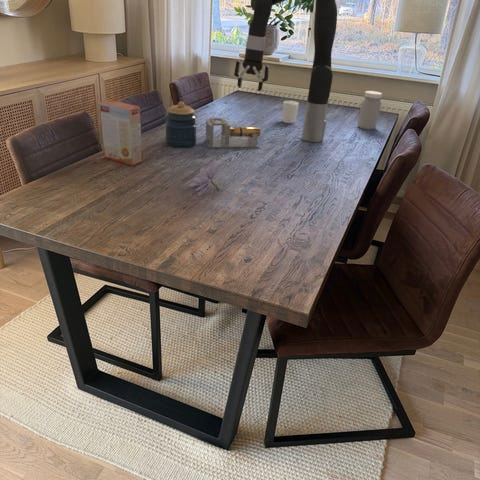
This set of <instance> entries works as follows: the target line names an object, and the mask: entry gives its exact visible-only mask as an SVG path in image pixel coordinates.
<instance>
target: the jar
mask: <svg viewBox="0 0 480 480" xmlns="http://www.w3.org/2000/svg"><path fill="white" fill-rule="evenodd" d="M382 96H383V93H382V92H380V91H376V90H366V91H365V93H364V97H363V100H362V101H361V105H360V110H359V115H358V119H357V124H356V125H357V127H358V128H359V129H362V130H366V131H367V130H368V131H372V130H374V129H375V128H376V127H377V122H378V119H379V115H380V110H381V106H382V101H381V98H382Z"/></svg>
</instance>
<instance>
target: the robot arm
mask: <svg viewBox="0 0 480 480" xmlns="http://www.w3.org/2000/svg"><path fill="white" fill-rule="evenodd" d="M285 1H286V0H250V7H251V9H252V10H253V14H252V15H253V16H252V19H251V20H250V22H249V27H248V33H247V39H246V45H245V51H244V58H243V61H241V60H237V61H236V63H235V68H234V73H233V75H234V77H237V84H236V85H237V87H238V88H240V89H241V88H242V84H243V77H244V76H245V75H246V74H247V75H253V76H256V77H257V79H258V86H257V91H258V92H260V91H262V90H263V86H264V85H263V84H264V83H265V82H268V80H269V74H270V66H269V65H263V59H264V55H265V53H264V51H265V47H266V46H265V45H266V34H267V28H268V23H269V20H270V17H271V13H272V10H273V9H272V8H273V6H275V5H276V4H279V3H280V4H281V3H283V2H285ZM314 10H315V11H314V18H313V19H314V22H313V23H314V24H313V25H314V26H313V43H314V53H313V54H314V55H313V61H312V68H311V72H310V81H309V88H308V95H307V100H306V107H305V114H304V122H303V128H302V134H301V139H302V140H303V141H305V142H308V143H309V142H310V143H320V142H323V141H324V137H325V130H326V126H327V120H326V114H327V108H328V105H329V104H328V103H329V98H330V94H331V89H332V83H333V76H334V75H333V71H332V70H333V69H332V51H333V46H334V42H335V36H336V33H337V31H336V30H337V25H338V24H337V22H338V7H337V2H336V0H315V8H314ZM241 67H243V69H242V71H241V72H240V69H241ZM262 69H263V72H264V76H262V73H261V70H262Z"/></svg>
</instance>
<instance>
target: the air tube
mask: <svg viewBox="0 0 480 480" xmlns="http://www.w3.org/2000/svg"><path fill="white" fill-rule="evenodd" d="M252 134H258V138H259V137H260V136H261V128H260V127H258V126H253V127H252V126H230V135H229V138H230V137H231V138H232V137H233V138H234V137H235V138H236V137H237V138H238V137H239V138H242V137H245V138H246V137H247V138H248V137H252Z"/></svg>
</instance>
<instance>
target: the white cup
mask: <svg viewBox="0 0 480 480" xmlns="http://www.w3.org/2000/svg"><path fill="white" fill-rule="evenodd" d="M282 105H283V107H282V122H283V123H285V124H295V123H296V120H297V115H298V110H299V105H300V103H299V102H298V101H297V100H296V101H295V100H284V101H283V104H282Z"/></svg>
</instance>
